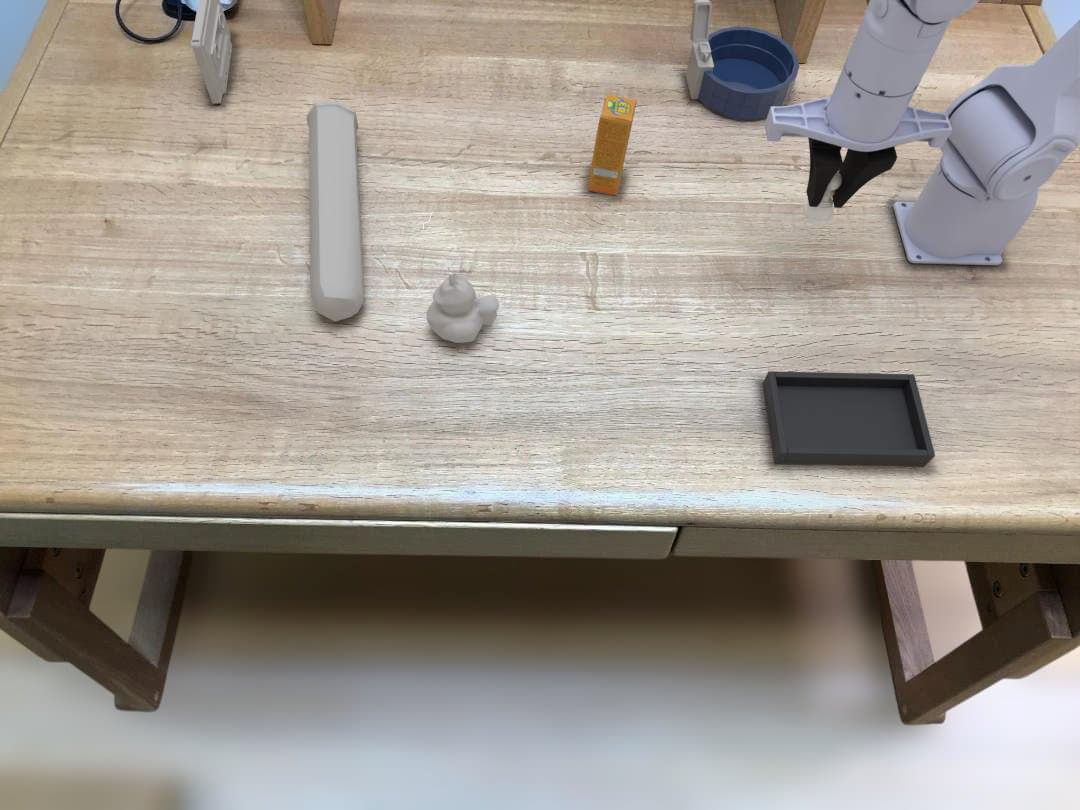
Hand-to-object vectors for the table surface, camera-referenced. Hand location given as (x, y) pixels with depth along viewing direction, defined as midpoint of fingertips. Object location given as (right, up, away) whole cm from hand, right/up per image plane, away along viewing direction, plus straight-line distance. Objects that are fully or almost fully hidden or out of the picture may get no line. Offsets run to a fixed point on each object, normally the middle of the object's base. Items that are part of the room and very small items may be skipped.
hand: (824, 199), depth 77 cm
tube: (-46, -1, +9) cm, 47 cm away
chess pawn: (0, -1, +2) cm, 2 cm away
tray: (+1, -20, -1) cm, 20 cm away
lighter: (-8, +17, +22) cm, 29 cm away
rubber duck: (-33, -11, +3) cm, 35 cm away
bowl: (-3, +18, +21) cm, 28 cm away
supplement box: (-19, +5, +13) cm, 23 cm away
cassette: (-62, +19, +20) cm, 68 cm away
